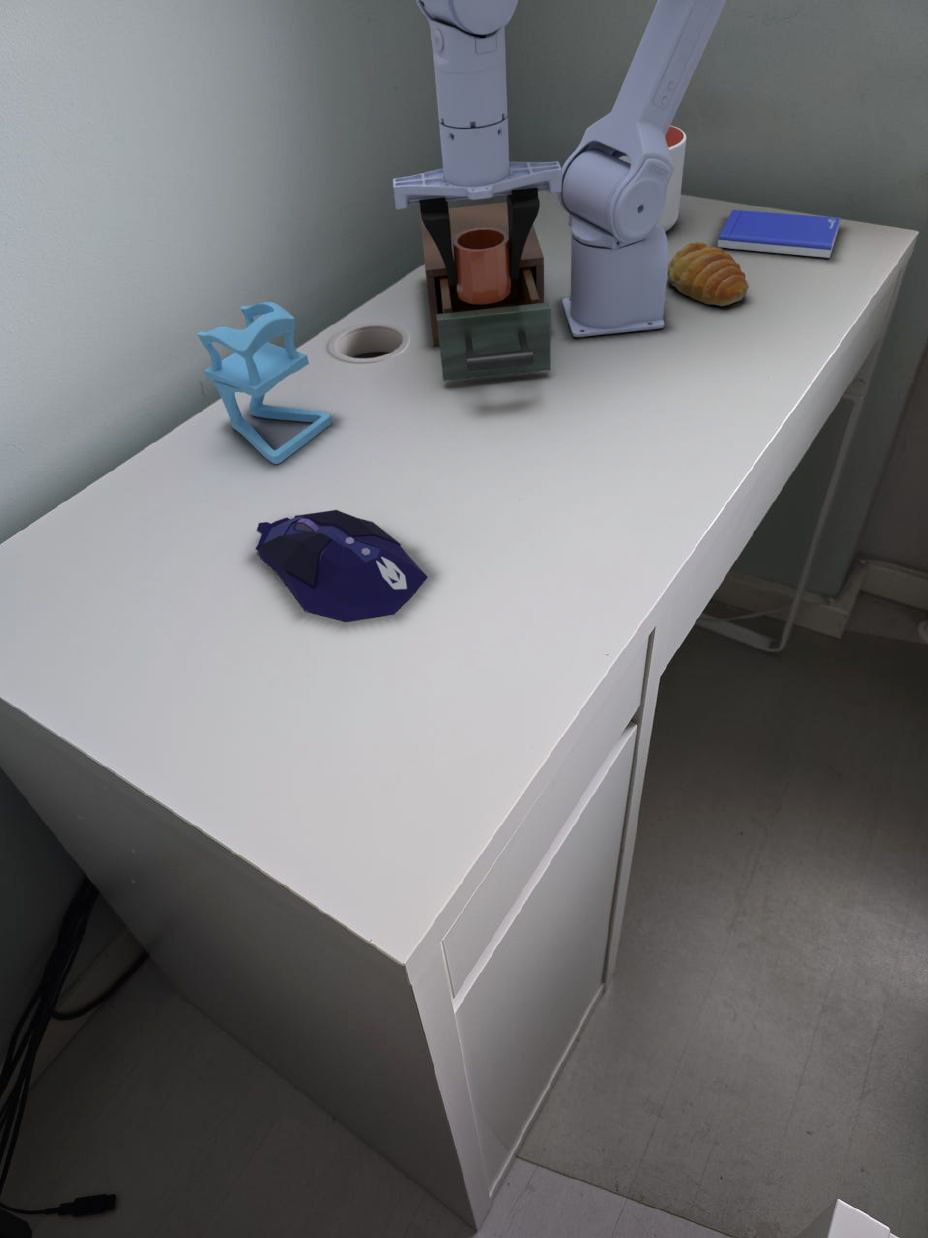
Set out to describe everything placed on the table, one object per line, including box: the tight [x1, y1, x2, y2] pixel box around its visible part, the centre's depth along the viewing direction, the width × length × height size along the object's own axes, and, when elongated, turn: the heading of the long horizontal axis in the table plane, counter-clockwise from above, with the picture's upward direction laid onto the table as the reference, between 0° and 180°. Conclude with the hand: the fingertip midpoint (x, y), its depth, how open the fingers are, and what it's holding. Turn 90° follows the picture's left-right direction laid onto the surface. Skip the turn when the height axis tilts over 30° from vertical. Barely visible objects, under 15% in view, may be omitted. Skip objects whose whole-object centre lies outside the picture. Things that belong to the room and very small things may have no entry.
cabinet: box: [419, 201, 545, 347], centre depth 93 cm, size 15×12×8 cm
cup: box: [619, 125, 687, 233], centre depth 104 cm, size 10×10×10 cm
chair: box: [197, 301, 332, 465], centre depth 77 cm, size 8×8×12 cm
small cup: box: [453, 228, 511, 305], centre depth 81 cm, size 5×5×5 cm
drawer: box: [436, 267, 552, 382], centre depth 85 cm, size 18×10×6 cm, turn 4°
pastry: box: [667, 241, 750, 307], centre depth 93 cm, size 9×7×4 cm
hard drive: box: [717, 209, 842, 259], centre depth 101 cm, size 2×8×12 cm
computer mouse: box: [254, 509, 428, 622], centre depth 66 cm, size 9×15×4 cm, turn 58°
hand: (482, 277), depth 82 cm, fingers closed on small cup, 5 cm apart
